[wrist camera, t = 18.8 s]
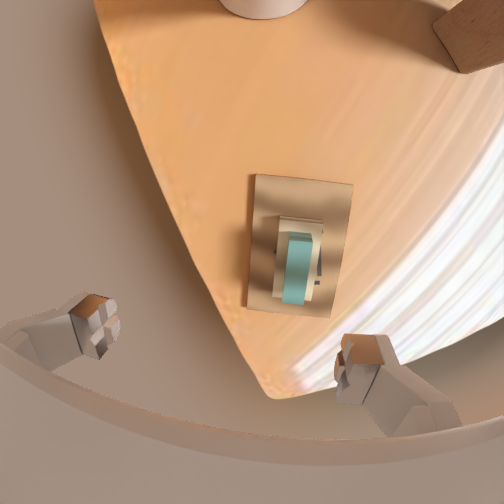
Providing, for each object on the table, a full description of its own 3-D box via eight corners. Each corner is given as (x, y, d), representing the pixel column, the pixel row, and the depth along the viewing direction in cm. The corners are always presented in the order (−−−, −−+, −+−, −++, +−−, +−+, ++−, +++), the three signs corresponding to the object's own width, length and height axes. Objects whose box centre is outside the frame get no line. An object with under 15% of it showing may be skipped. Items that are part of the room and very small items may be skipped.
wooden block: (460, 76, 29) (537, 54, 11) (427, 25, 27) (489, -22, 9) (491, 64, 26) (563, 46, 8) (462, 16, 24) (522, -20, 6)
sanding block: (280, 215, 41) (278, 227, 35) (321, 219, 41) (326, 232, 35) (273, 289, 45) (269, 310, 39) (310, 293, 45) (312, 315, 39)
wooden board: (256, 173, 41) (255, 174, 40) (352, 184, 39) (353, 185, 38) (247, 306, 48) (246, 309, 47) (329, 315, 47) (329, 318, 46)
